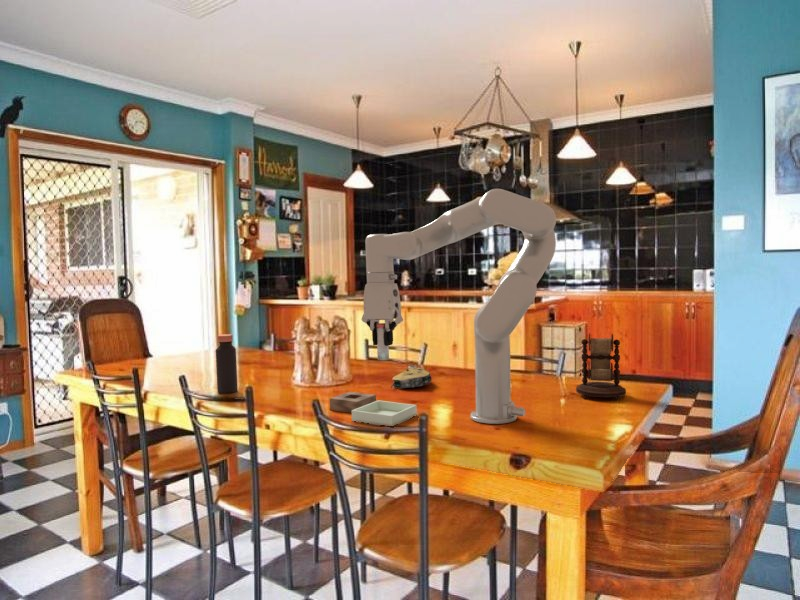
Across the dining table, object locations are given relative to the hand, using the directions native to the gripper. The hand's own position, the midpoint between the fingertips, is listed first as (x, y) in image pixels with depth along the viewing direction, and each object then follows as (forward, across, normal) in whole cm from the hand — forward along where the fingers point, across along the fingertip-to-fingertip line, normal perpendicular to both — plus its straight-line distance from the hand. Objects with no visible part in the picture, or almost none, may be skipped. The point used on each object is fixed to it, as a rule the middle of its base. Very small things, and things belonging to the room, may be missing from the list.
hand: (382, 344), depth 159 cm
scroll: (+22, -46, -52) cm, 73 cm away
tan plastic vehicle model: (+21, +18, -46) cm, 53 cm away
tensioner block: (+21, +15, -5) cm, 26 cm away
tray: (+21, 0, 0) cm, 21 cm away
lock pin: (+4, 0, 0) cm, 4 cm away
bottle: (+20, +69, -4) cm, 72 cm away
